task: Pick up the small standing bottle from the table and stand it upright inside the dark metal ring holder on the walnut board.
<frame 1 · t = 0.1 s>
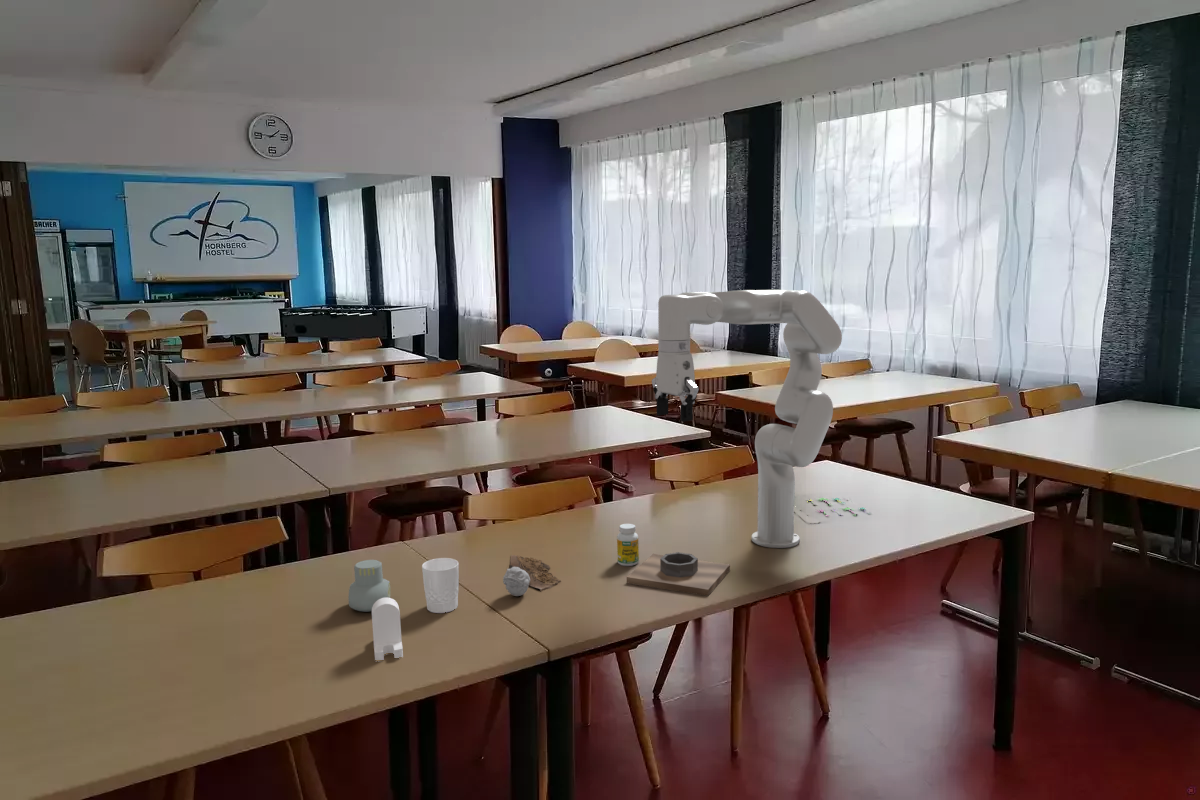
hand: (674, 417, 203), 37 cm above the table, tool pointing down, fingers open, 9 cm apart
crumpled paper ball: (517, 596, 192), on the table
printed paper: (838, 509, 255), on the table
wooden fragment: (528, 573, 207), on the table
air freshener: (370, 607, 187), on the table
holder: (679, 576, 202), on the table
white phone stand: (388, 649, 167), on the table
white cup: (442, 608, 186), on the table
supplement bottle: (628, 563, 212), on the table
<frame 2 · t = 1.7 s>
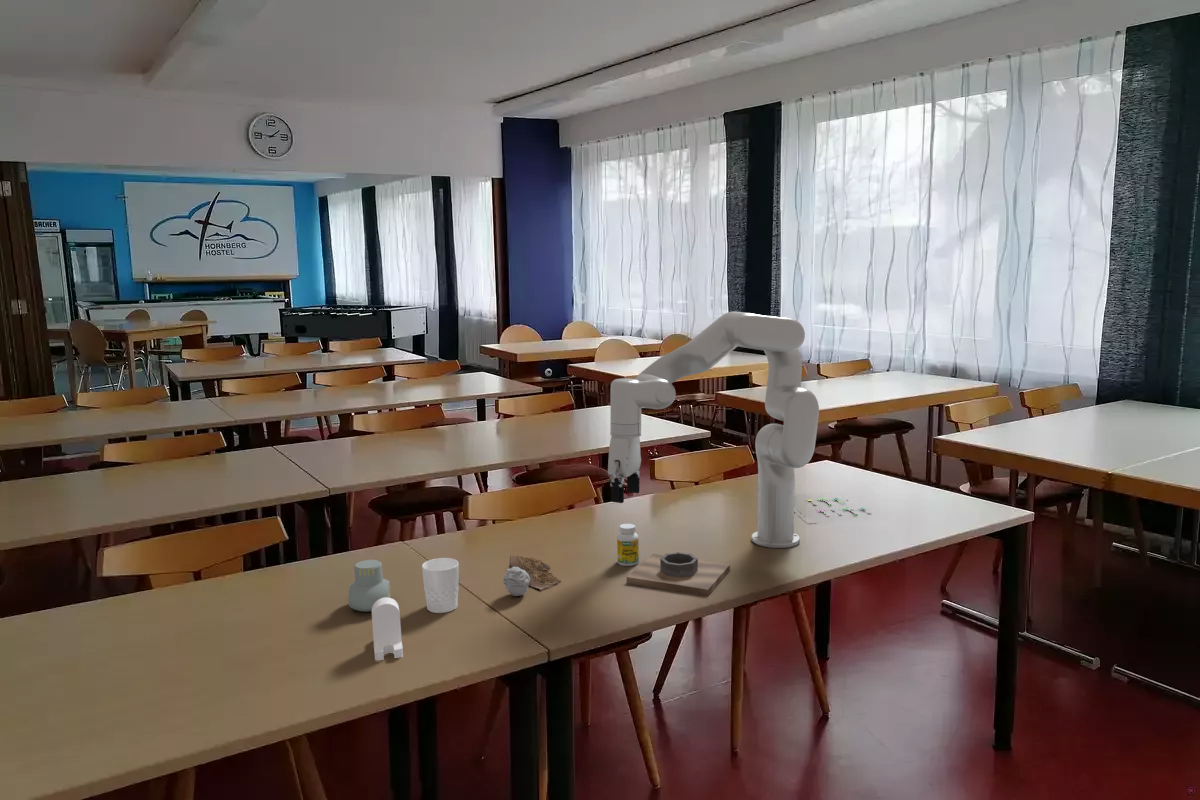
hand: (625, 497, 209), 17 cm above the table, tool pointing down, fingers open, 9 cm apart
nothing on the table moved.
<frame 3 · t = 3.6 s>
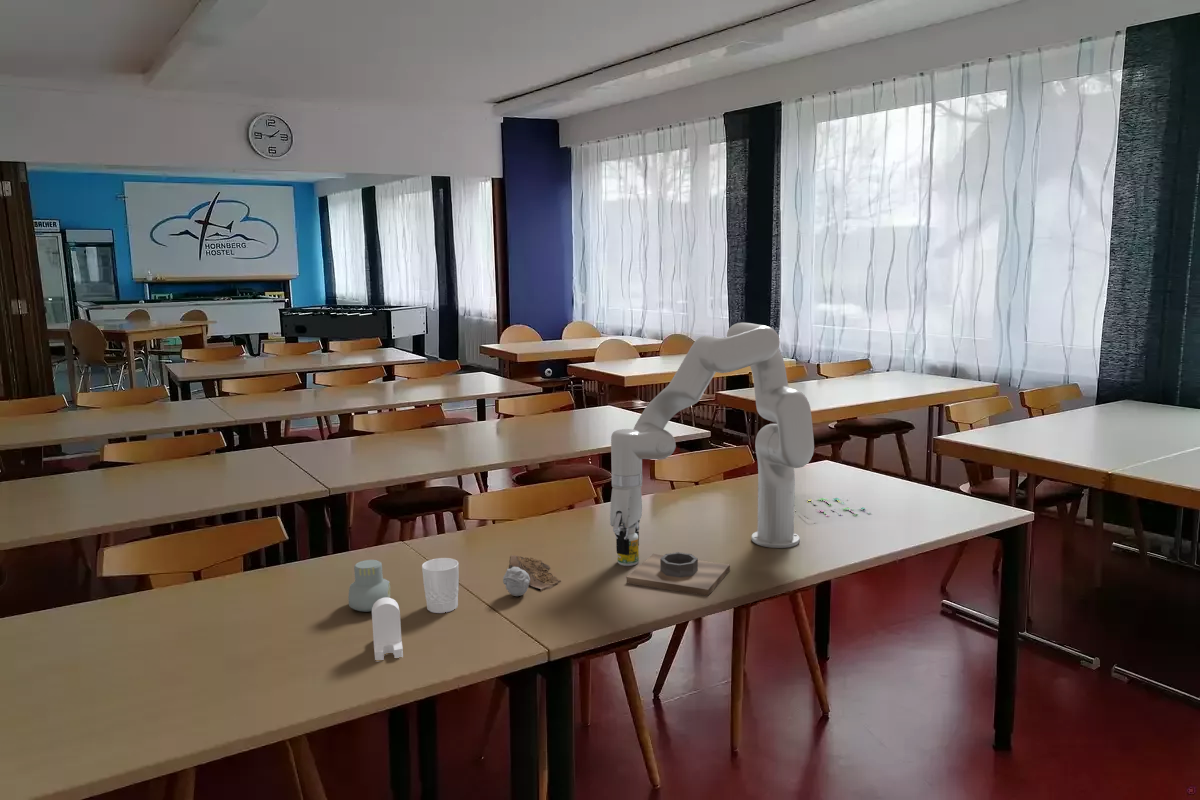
hand: (627, 549, 211), 4 cm above the table, tool pointing down, fingers closed on supplement bottle, 5 cm apart
supplement bottle: (628, 563, 212), on the table, touching gripper
everything else where it was.
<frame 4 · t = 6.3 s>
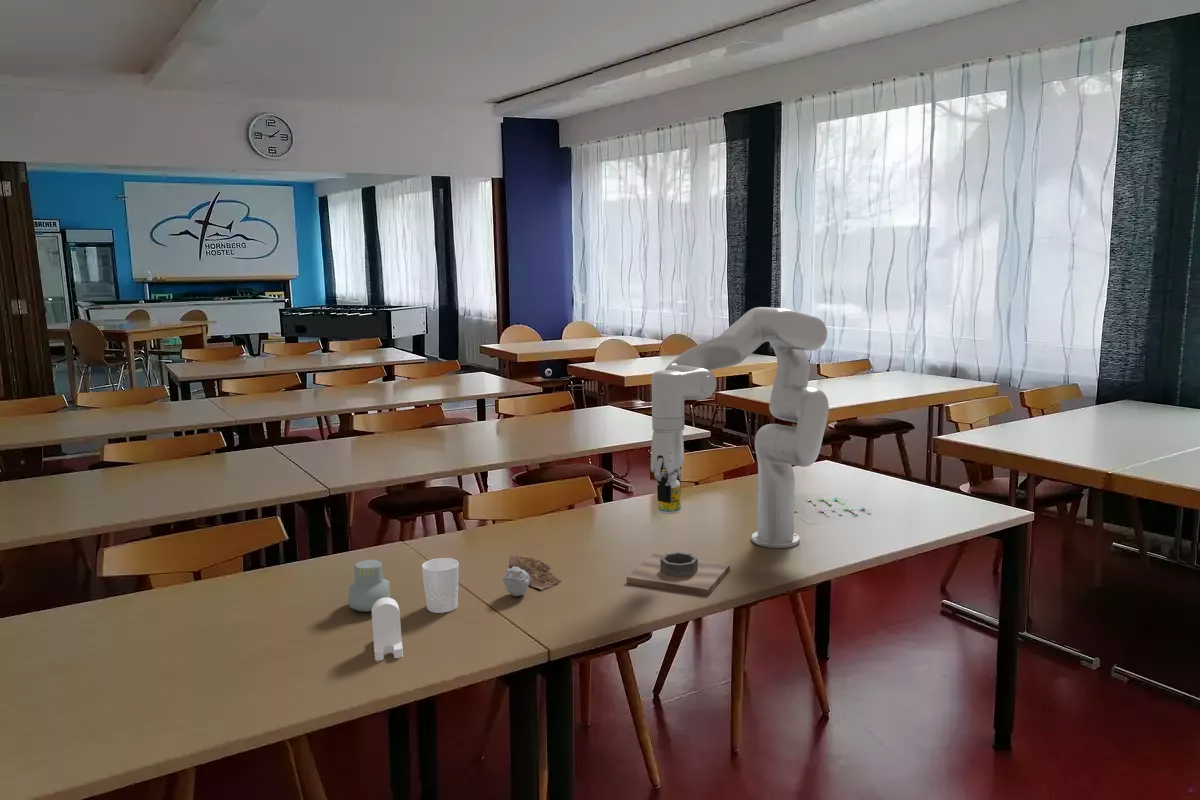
hand: (669, 497, 200), 19 cm above the table, tool pointing down, fingers closed on supplement bottle, 5 cm apart
supplement bottle: (669, 512, 201), point 15 cm above the table, touching gripper
everything else where it was.
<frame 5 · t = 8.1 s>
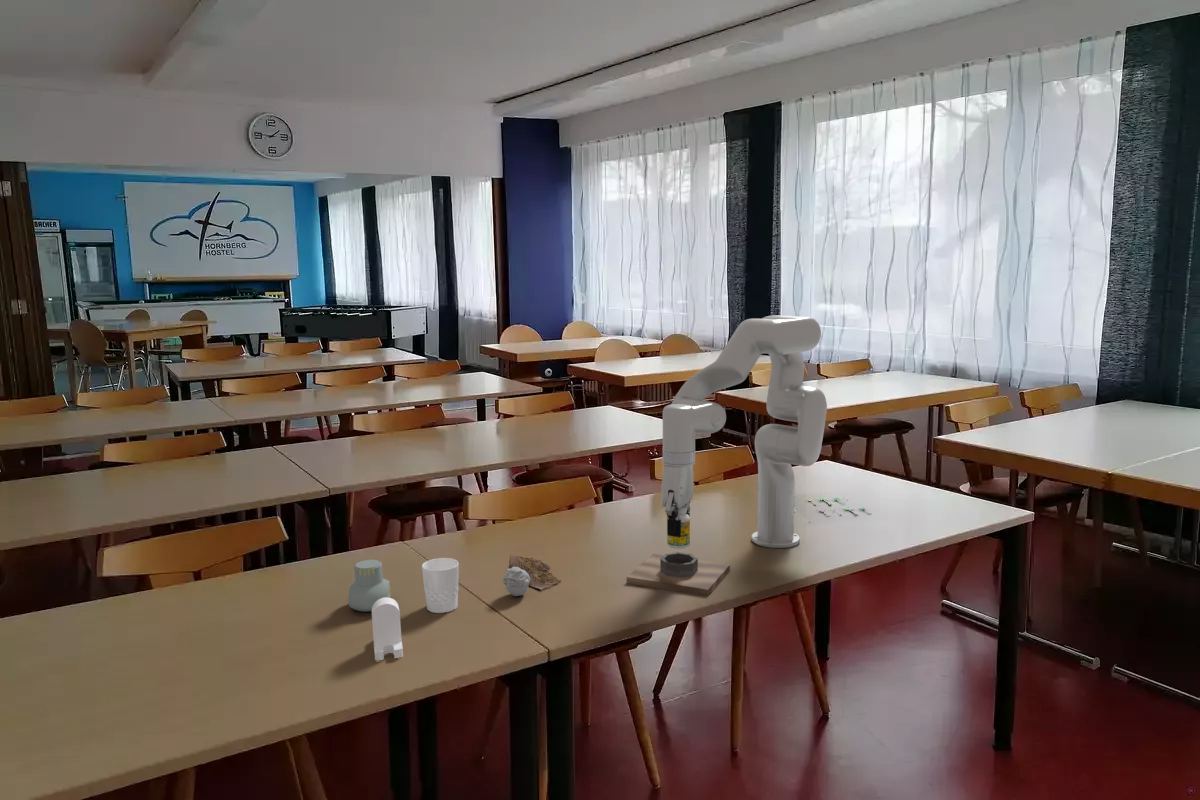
hand: (678, 531, 200), 11 cm above the table, tool pointing down, fingers closed on supplement bottle, 5 cm apart
supplement bottle: (678, 546, 200), point 8 cm above the table, touching gripper
everything else where it was.
when the fingers open (6 cm above the table, at t = 9.5 s): supplement bottle drops 1 cm, resting on holder.
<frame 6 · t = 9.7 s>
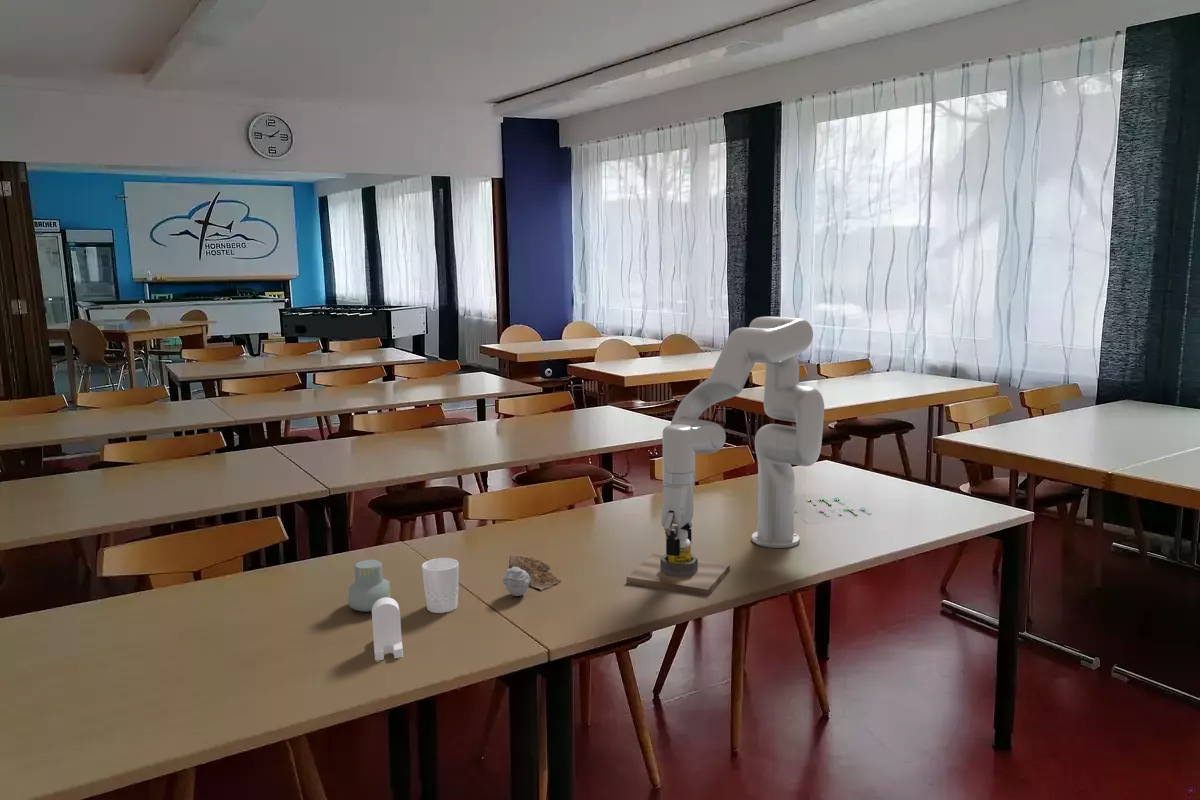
hand: (679, 549, 200), 7 cm above the table, tool pointing down, fingers open, 7 cm apart
supplement bottle: (679, 571, 202), point 1 cm above the table, touching holder
everything else where it was.
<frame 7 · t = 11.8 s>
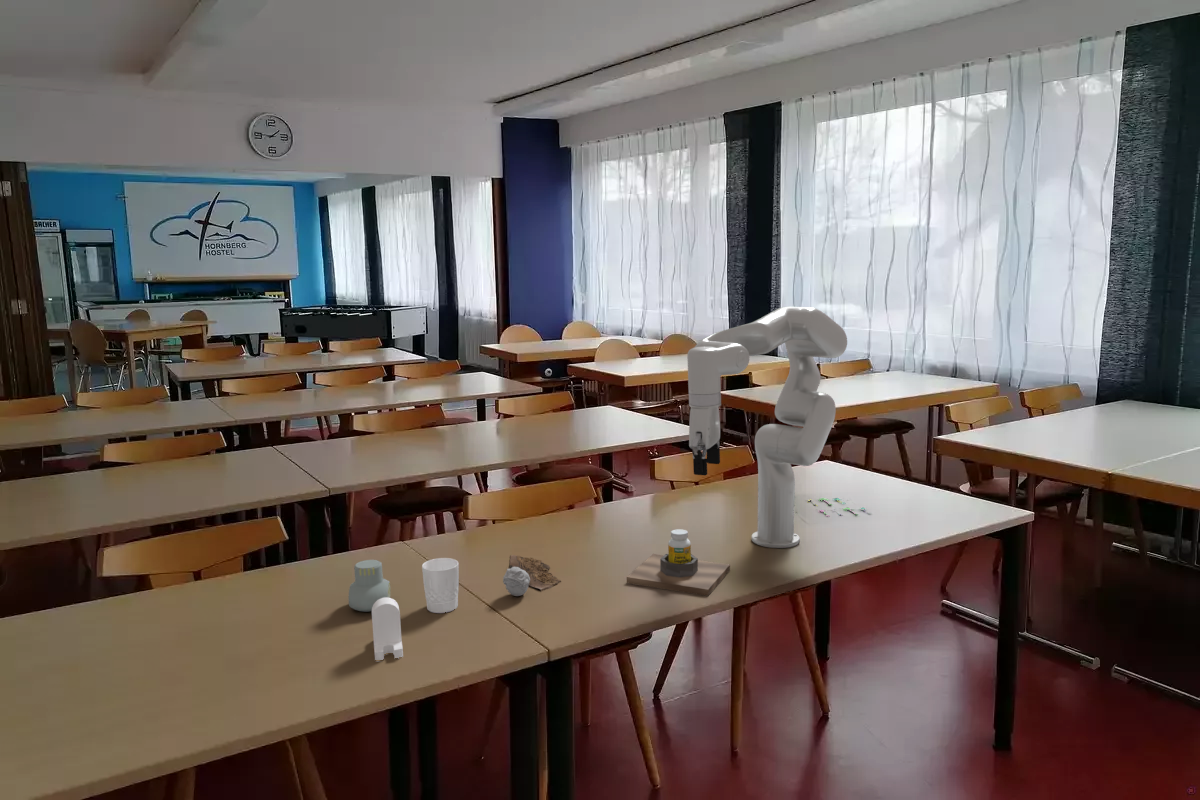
hand: (707, 469, 203), 25 cm above the table, tool pointing down, fingers open, 9 cm apart
nothing on the table moved.
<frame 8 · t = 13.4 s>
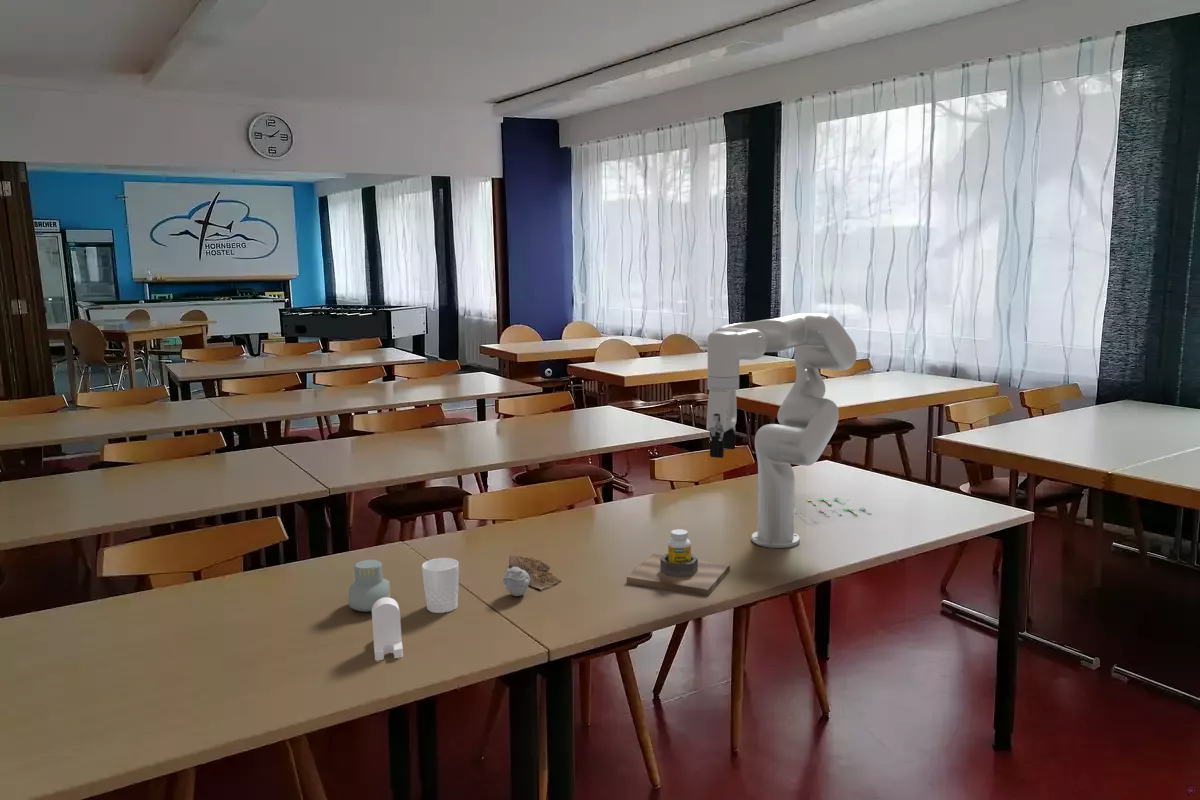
hand: (722, 452, 205), 28 cm above the table, tool pointing down, fingers open, 9 cm apart
nothing on the table moved.
at the end: supplement bottle 0.2 cm off-centre on the holder, point 1.3 cm above the holder's base; supplement bottle tilted 0°; the gripper is holding nothing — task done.
